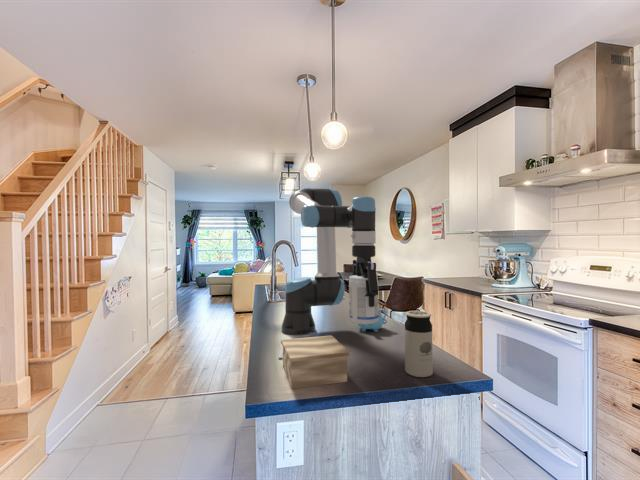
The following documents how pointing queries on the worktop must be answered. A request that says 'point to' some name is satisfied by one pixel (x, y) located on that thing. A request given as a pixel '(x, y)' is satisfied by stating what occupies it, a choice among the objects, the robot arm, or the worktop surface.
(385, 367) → the worktop surface
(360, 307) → the supplement tub
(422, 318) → the travel mug
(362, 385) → the worktop surface
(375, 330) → the teapot
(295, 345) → the wooden block
